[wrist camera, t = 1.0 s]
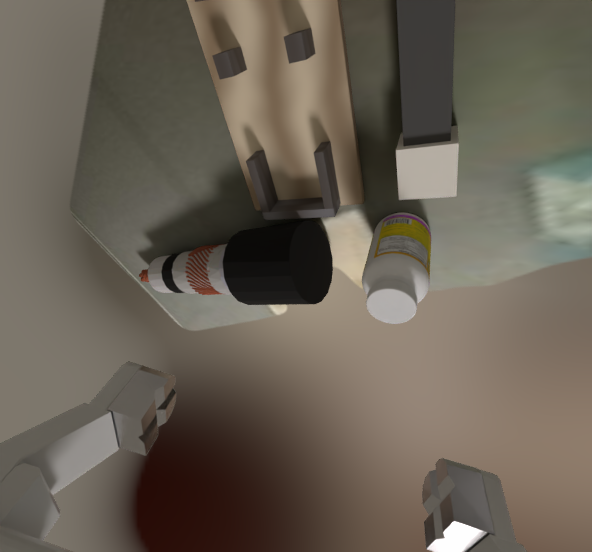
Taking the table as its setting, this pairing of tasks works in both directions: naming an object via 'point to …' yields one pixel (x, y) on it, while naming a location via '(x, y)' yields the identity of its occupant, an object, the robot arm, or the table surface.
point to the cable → (253, 266)
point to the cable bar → (426, 100)
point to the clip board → (285, 101)
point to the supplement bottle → (397, 267)
